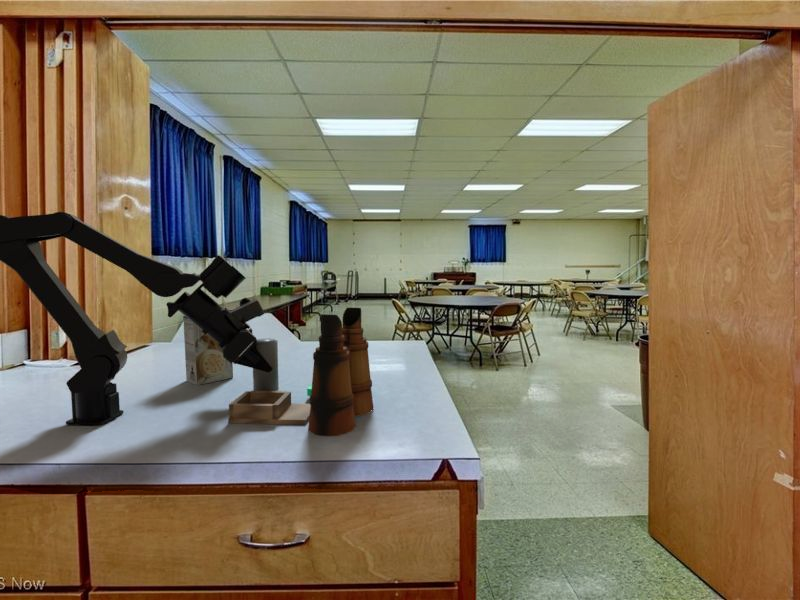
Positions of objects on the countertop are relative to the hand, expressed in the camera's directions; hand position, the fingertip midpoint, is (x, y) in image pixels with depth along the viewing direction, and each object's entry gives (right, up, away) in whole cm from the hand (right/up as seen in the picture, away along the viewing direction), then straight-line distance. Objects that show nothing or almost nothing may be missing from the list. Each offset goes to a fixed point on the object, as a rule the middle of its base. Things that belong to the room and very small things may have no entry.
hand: (268, 365), depth 91 cm
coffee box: (-20, -6, +17) cm, 27 cm away
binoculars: (+17, -9, -9) cm, 21 cm away
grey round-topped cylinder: (-1, -7, 0) cm, 7 cm away
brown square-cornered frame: (+4, -8, -8) cm, 12 cm away
